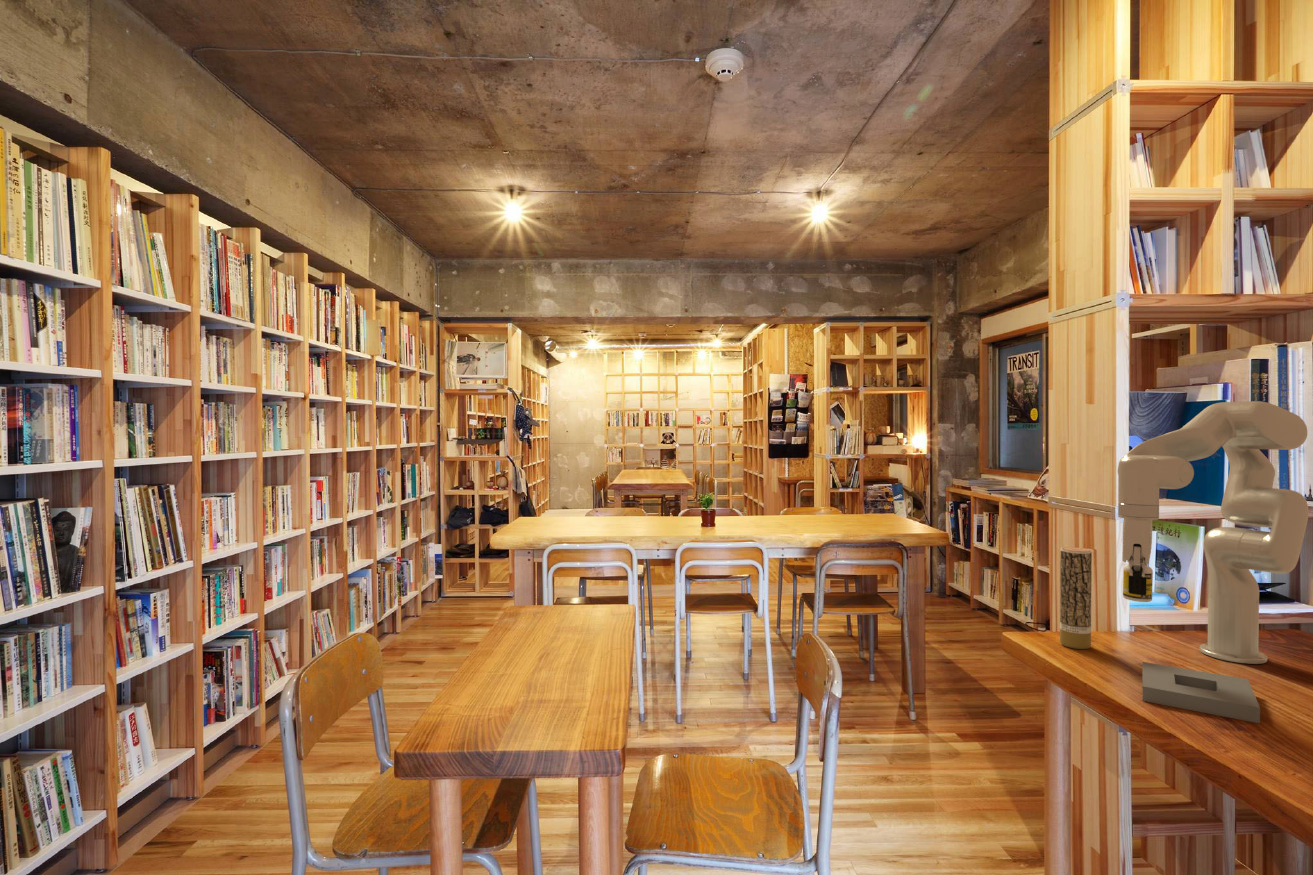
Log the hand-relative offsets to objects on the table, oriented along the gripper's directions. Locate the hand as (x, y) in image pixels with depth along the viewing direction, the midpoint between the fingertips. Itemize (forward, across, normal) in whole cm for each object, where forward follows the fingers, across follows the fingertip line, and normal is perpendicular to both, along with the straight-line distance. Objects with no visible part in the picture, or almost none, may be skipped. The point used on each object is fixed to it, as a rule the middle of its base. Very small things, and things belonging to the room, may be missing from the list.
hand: (1137, 590), depth 151 cm
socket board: (+19, +8, +10) cm, 23 cm away
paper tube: (+20, -16, -14) cm, 29 cm away
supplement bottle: (+2, 0, 0) cm, 2 cm away
